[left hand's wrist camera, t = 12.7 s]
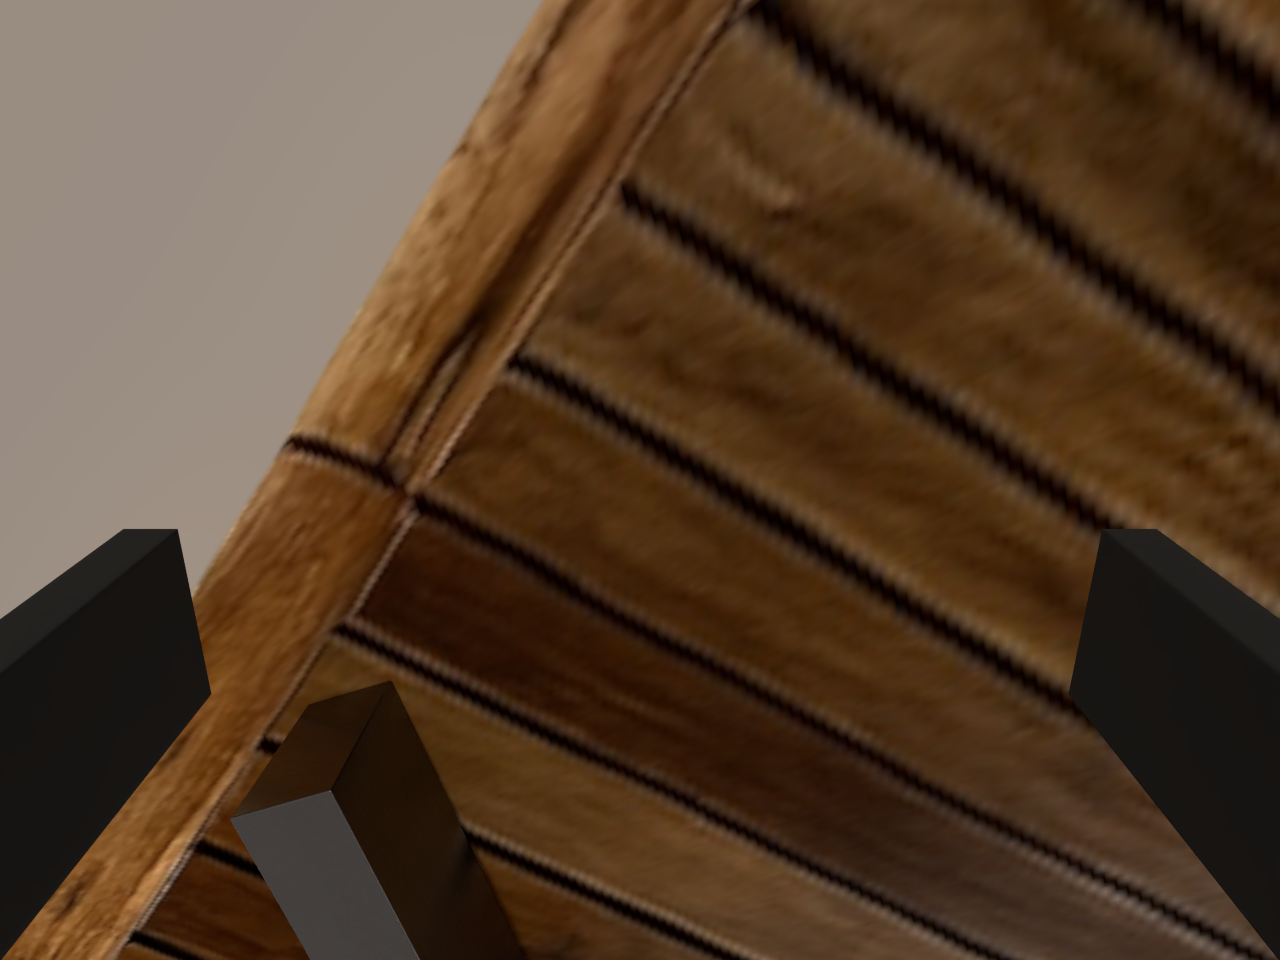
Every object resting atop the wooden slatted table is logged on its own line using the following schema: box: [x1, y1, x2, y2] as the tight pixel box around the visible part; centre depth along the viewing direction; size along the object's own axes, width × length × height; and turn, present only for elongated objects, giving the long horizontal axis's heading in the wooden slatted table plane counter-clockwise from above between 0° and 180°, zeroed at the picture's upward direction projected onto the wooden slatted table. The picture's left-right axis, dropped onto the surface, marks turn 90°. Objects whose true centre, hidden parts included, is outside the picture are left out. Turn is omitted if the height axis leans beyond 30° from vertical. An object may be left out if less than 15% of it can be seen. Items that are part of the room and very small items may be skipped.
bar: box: [231, 681, 524, 960], centre depth 45 cm, size 26×5×9 cm, turn 18°
